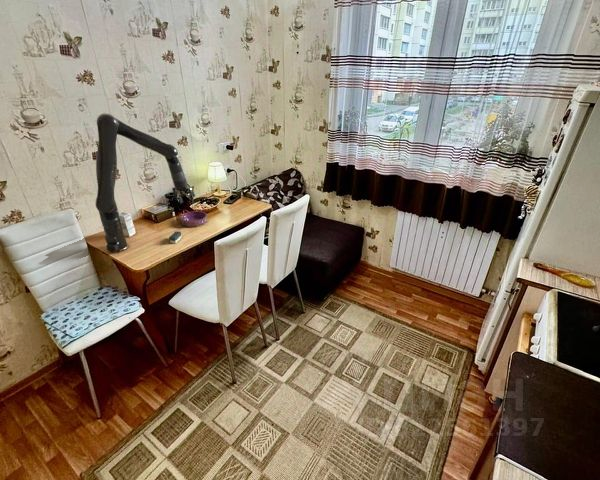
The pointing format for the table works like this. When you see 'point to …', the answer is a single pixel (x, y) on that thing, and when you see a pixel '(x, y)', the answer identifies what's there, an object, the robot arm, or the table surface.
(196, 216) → the bowl
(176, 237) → the eraser
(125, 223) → the syrup box
